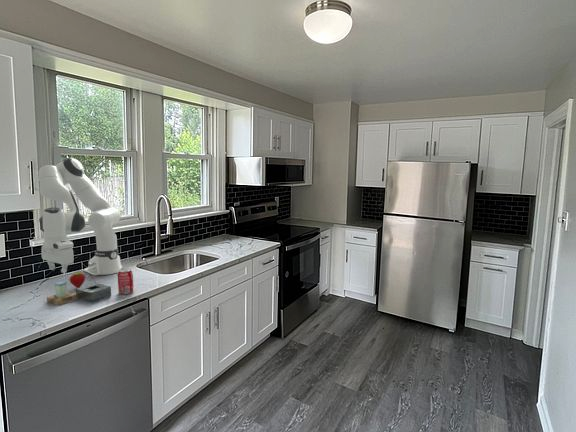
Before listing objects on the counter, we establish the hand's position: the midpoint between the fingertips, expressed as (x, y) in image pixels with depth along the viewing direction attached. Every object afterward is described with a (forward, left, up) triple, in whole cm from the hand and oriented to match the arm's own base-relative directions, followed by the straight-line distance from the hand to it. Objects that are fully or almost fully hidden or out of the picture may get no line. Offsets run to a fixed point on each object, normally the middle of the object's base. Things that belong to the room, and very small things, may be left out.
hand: (58, 271), depth 157 cm
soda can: (+18, +22, -15) cm, 32 cm away
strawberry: (-9, +14, -15) cm, 23 cm away
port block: (+9, +10, -15) cm, 20 cm away
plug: (+1, 0, -15) cm, 15 cm away
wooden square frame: (+1, 0, -15) cm, 15 cm away
